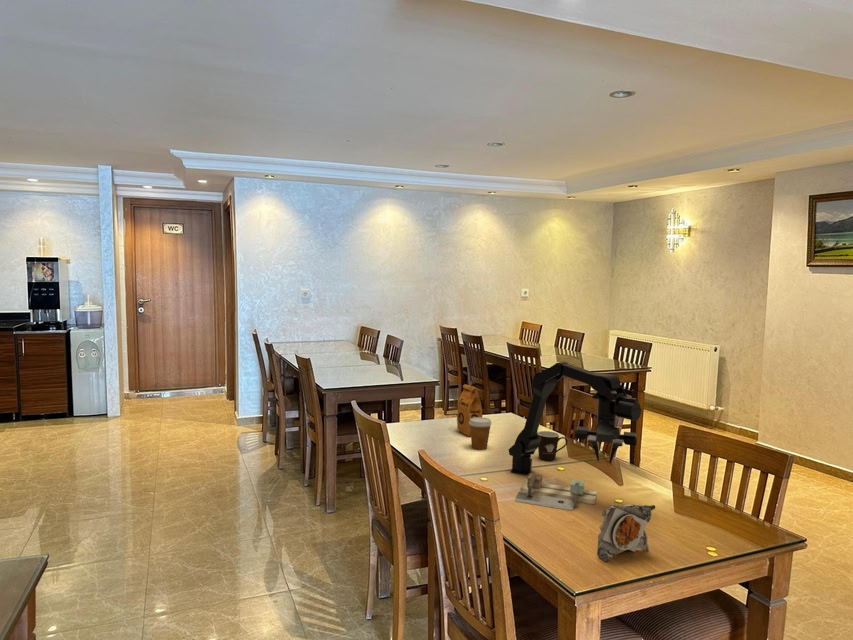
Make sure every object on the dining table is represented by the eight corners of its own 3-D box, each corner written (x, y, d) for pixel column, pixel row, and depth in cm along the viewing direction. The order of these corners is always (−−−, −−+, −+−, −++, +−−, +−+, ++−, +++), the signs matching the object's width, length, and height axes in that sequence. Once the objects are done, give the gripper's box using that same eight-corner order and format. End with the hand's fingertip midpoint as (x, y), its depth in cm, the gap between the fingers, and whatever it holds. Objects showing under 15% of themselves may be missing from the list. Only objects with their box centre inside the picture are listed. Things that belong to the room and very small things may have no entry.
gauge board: (516, 498, 182) (517, 483, 182) (524, 484, 195) (525, 470, 195) (593, 511, 174) (594, 496, 173) (596, 495, 186) (597, 481, 186)
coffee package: (464, 438, 250) (466, 389, 248) (454, 430, 261) (455, 384, 260) (485, 436, 253) (486, 388, 251) (474, 429, 265) (475, 383, 263)
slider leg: (567, 501, 176) (567, 491, 176) (571, 488, 188) (572, 479, 187) (580, 503, 175) (580, 493, 175) (584, 490, 186) (584, 481, 186)
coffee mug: (534, 460, 221) (535, 435, 221) (538, 454, 229) (539, 430, 229) (564, 464, 217) (565, 439, 216) (567, 458, 225) (568, 433, 224)
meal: (608, 564, 141) (610, 513, 140) (596, 556, 145) (599, 507, 144) (653, 554, 147) (656, 505, 146) (641, 546, 151) (643, 499, 150)
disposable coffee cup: (494, 447, 237) (495, 419, 236) (484, 452, 229) (485, 423, 228) (474, 443, 242) (475, 415, 241) (463, 448, 234) (464, 420, 233)
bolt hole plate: (515, 501, 180) (515, 497, 180) (518, 494, 186) (519, 491, 186) (572, 510, 174) (572, 507, 173) (574, 503, 179) (574, 500, 179)
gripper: (573, 416, 176) (571, 465, 177) (637, 423, 169) (634, 474, 170) (577, 409, 186) (575, 455, 187) (637, 415, 179) (635, 463, 180)
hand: (604, 461), depth 181 cm, fingers open, 3 cm apart
